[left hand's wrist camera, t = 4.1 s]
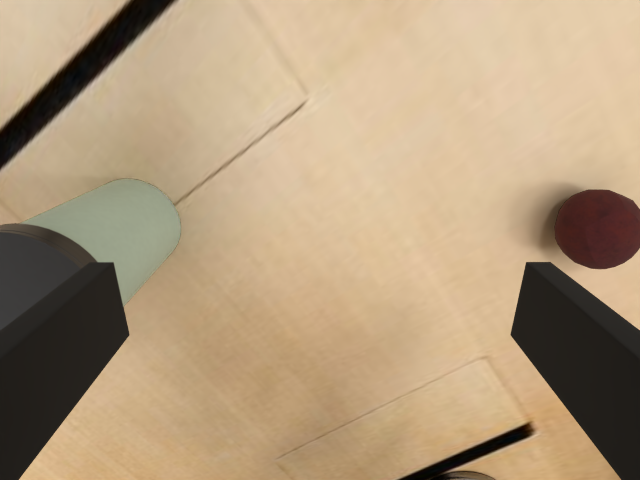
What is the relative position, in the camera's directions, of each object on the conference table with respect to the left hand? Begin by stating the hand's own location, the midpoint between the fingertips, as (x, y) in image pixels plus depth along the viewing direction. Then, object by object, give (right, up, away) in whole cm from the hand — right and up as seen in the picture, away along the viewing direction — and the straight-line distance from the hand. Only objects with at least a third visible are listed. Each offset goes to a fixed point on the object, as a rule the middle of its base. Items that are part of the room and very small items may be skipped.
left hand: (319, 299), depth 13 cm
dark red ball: (+27, +4, +28) cm, 39 cm away
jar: (-20, +4, +29) cm, 35 cm away
